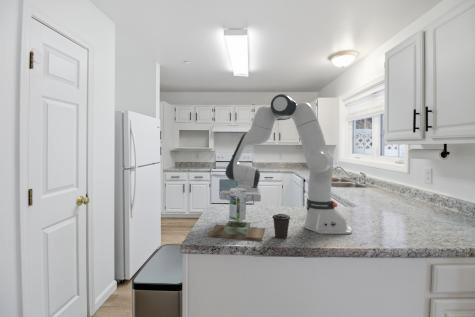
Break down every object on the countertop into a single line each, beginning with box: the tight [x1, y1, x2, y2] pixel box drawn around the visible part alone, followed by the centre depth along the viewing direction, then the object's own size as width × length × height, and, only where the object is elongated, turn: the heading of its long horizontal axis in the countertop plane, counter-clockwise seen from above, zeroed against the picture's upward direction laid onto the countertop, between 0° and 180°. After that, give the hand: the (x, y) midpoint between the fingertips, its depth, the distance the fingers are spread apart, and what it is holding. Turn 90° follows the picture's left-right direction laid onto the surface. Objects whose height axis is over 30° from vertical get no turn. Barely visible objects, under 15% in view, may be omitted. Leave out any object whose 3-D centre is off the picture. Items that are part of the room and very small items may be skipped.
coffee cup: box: [272, 213, 291, 240], centre depth 121 cm, size 8×8×10 cm
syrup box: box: [228, 187, 247, 222], centre depth 124 cm, size 6×6×14 cm
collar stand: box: [208, 220, 266, 242], centre depth 125 cm, size 24×14×4 cm, turn 79°
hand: (237, 199), depth 123 cm, fingers open, 7 cm apart
